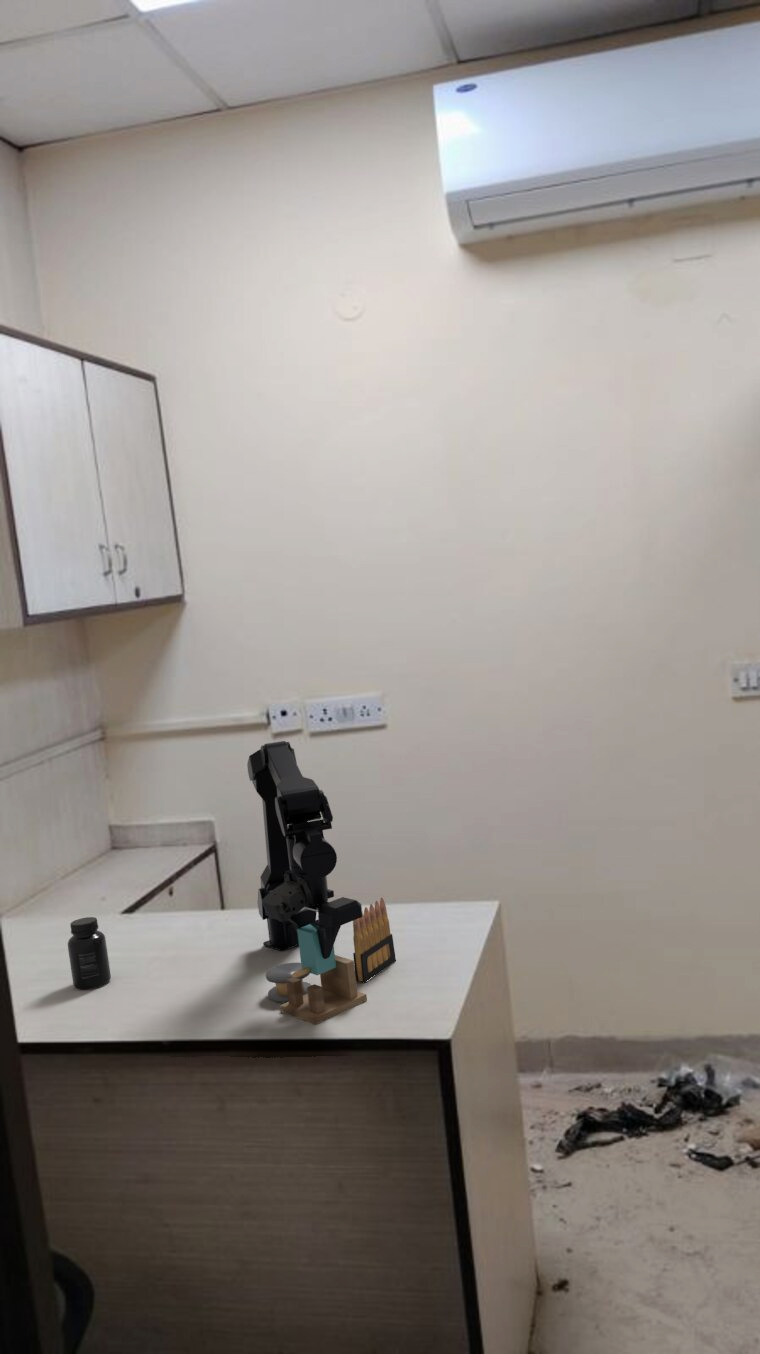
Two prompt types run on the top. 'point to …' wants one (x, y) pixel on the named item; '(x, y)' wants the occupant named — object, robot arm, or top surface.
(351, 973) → the notch board
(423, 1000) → the top surface
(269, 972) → the spool
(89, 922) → the supplement bottle
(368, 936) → the ammunition clip
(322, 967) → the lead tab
